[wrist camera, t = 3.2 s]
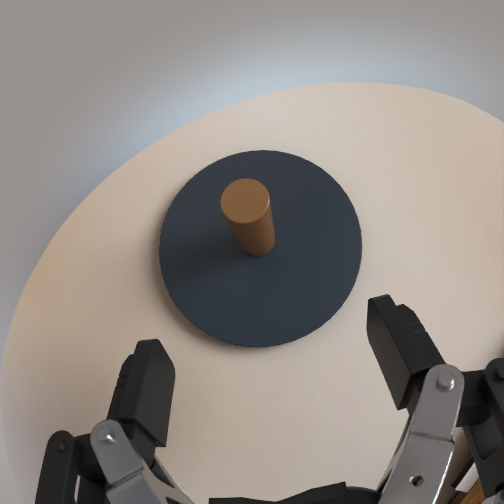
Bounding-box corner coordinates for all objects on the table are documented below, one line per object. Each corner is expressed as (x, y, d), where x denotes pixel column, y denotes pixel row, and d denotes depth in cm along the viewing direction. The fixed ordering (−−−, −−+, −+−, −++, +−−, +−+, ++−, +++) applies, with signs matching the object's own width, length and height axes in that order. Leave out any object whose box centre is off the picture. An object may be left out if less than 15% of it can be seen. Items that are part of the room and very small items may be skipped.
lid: (179, 359, 22) (126, 372, 14) (158, 181, 26) (116, 130, 18) (379, 320, 21) (425, 314, 13) (327, 143, 25) (338, 78, 17)
